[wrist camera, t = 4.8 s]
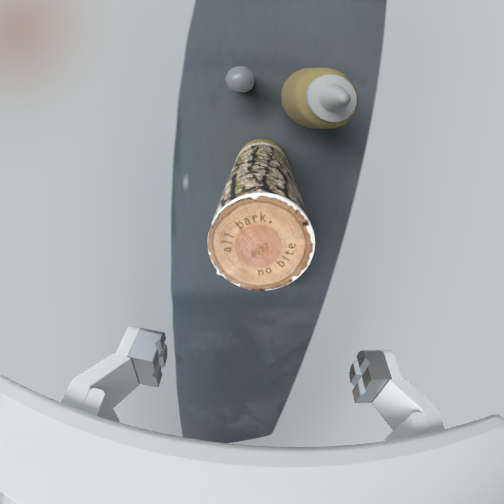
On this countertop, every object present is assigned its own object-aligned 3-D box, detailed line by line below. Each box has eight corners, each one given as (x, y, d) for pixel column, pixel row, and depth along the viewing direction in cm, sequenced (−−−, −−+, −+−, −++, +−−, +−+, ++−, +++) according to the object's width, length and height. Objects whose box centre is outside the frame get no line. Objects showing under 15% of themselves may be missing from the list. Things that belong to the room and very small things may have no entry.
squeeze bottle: (343, 119, 37) (398, 137, 21) (288, 132, 38) (308, 157, 22) (328, 65, 33) (376, 45, 17) (271, 77, 34) (279, 61, 19)
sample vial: (247, 67, 34) (245, 61, 28) (259, 86, 35) (259, 83, 30) (226, 78, 34) (220, 74, 29) (238, 97, 36) (234, 96, 31)
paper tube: (227, 154, 40) (185, 232, 18) (268, 128, 38) (279, 173, 16) (254, 192, 43) (246, 305, 21) (294, 168, 41) (333, 260, 19)
